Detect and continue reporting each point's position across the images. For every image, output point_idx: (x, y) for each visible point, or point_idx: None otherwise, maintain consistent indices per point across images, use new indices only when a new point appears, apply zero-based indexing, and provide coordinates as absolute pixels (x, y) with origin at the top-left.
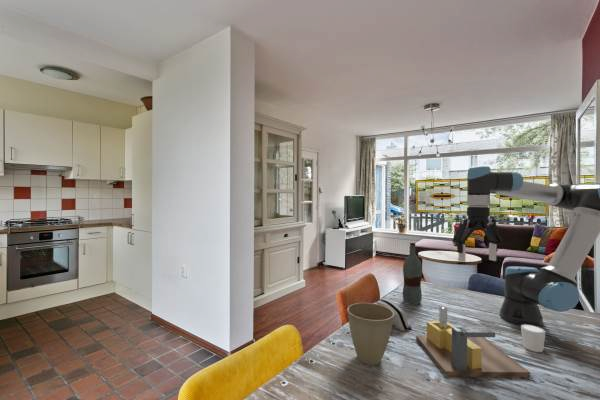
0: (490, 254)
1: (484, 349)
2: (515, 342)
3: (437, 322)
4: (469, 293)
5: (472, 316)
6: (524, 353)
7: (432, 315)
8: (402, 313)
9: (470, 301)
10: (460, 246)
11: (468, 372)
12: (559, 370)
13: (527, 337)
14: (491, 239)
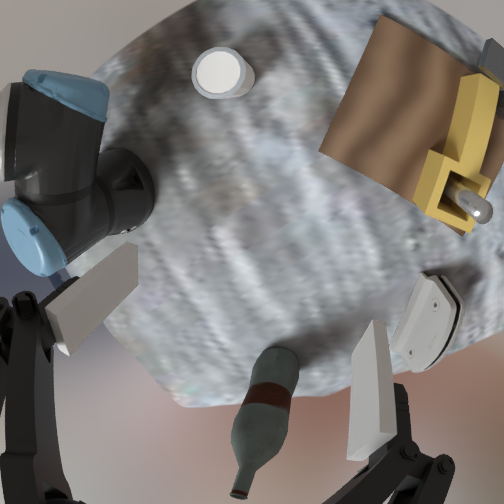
0: (117, 294)
1: (385, 109)
2: (247, 109)
3: (453, 216)
4: (115, 320)
5: (210, 248)
6: (284, 68)
7: (304, 297)
8: (453, 302)
9: (143, 298)
10: (407, 430)
11: None
12: (286, 4)
13: (249, 72)
14: (44, 364)
